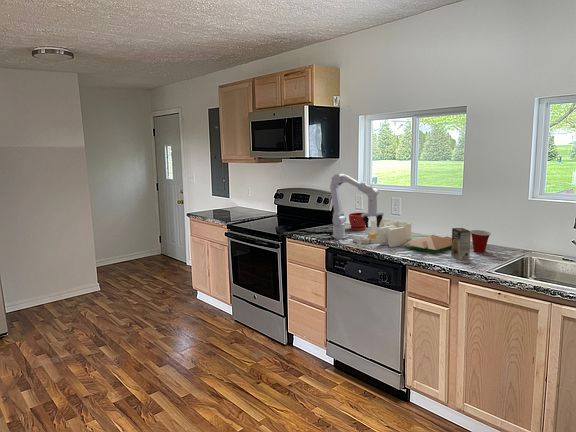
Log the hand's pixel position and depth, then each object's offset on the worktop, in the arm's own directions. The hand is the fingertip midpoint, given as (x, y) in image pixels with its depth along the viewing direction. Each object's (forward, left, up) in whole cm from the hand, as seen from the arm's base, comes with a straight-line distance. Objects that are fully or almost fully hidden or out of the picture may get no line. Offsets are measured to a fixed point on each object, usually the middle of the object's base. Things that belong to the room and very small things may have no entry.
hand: (372, 227), depth 276 cm
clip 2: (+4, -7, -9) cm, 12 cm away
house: (+27, +28, -10) cm, 40 cm away
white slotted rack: (-6, +16, -10) cm, 20 cm away
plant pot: (-39, +5, -10) cm, 40 cm away
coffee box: (+53, +29, -10) cm, 61 cm away
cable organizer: (+14, +7, -10) cm, 18 cm away
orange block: (0, 0, -10) cm, 10 cm away
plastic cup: (+45, +47, -10) cm, 66 cm away
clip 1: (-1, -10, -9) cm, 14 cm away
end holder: (+1, 0, -9) cm, 9 cm away
